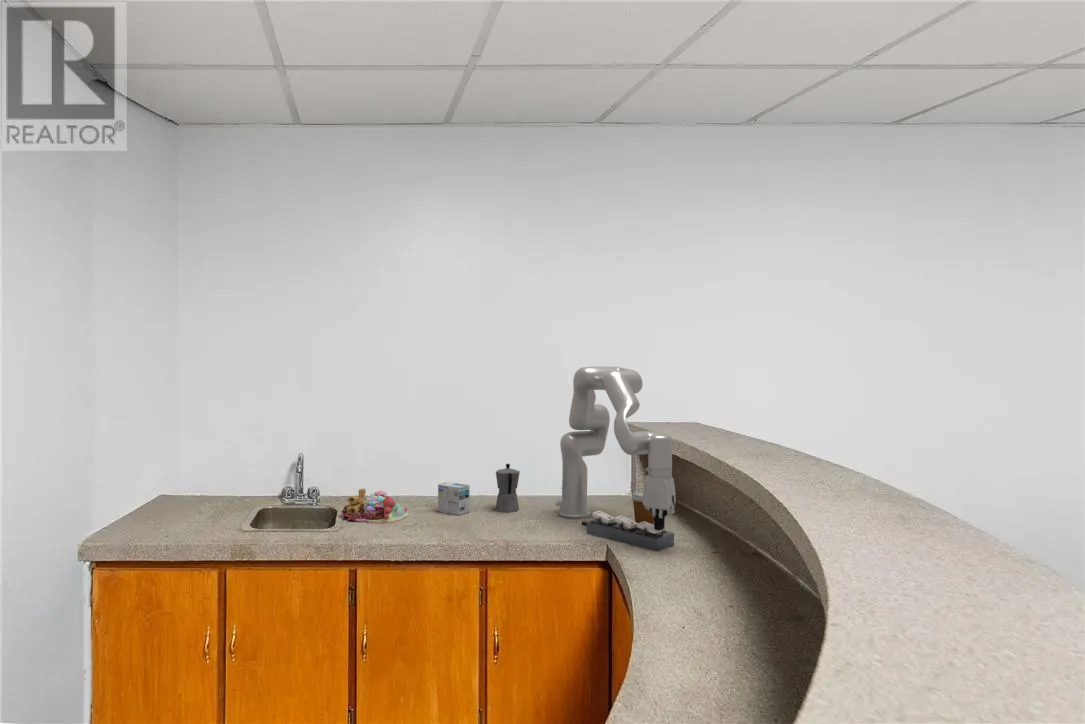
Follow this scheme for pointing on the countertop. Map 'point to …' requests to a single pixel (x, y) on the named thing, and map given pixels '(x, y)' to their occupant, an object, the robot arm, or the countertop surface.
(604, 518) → the rocker
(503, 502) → the coffeepot
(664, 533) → the power strip
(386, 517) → the candy landscape model
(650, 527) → the rocker
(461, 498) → the light bulb box
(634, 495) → the disposable coffee cup
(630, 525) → the rocker
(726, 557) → the countertop surface
